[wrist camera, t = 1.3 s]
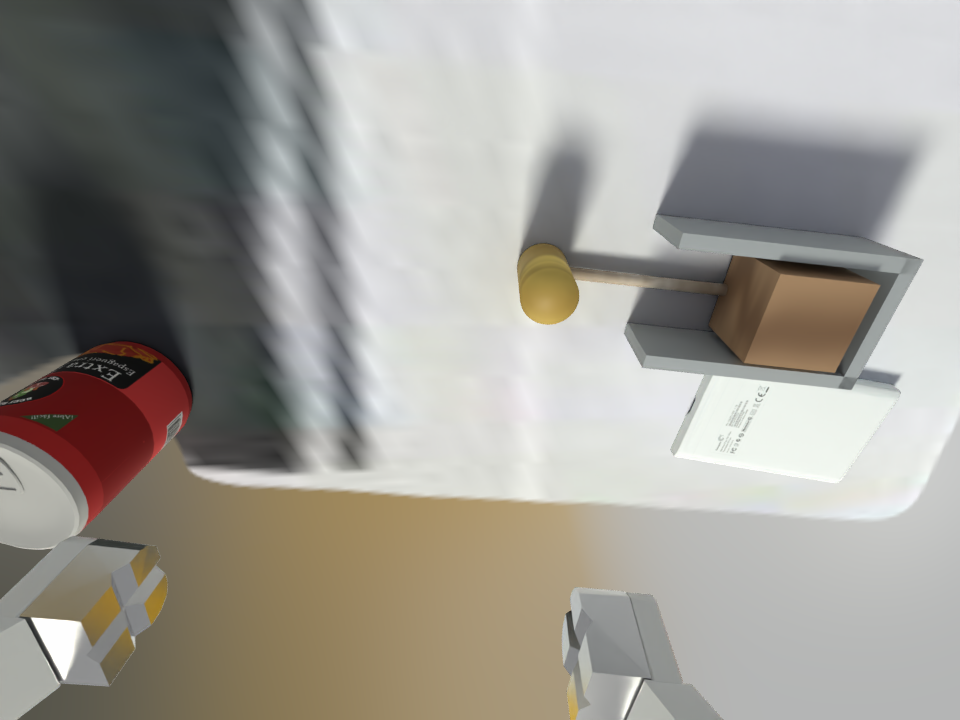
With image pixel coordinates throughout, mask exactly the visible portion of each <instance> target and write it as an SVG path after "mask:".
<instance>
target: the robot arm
mask: <svg viewBox="0 0 960 720" xmlns="http://www.w3.org/2000/svg"><path fill="white" fill-rule="evenodd" d="M160 558H161V557H160V554H159V552H158V549H157V546H153V545H145V544H136V543H129V542H120V541H113V540H104V539H97V538H88V537H78V536H71V537H69V538H67V539H65V540H63V541H61V542H60V543H59V544H58V545H57V546H56V547H55V548H54V549H53V550H52V551H51V552H49V553H48V554H47V555H46V556H45V557H44V558H43V559H42V560H41V561H40V562H39V563H38V564H37V565H36V566H35V567H34V568H33V569H32V570H31V571H30V572H29V573H28V574H27V575H26V576H25V577H24V578H23V579H21V580H20V582H18V584H16V585H15V586H14V587H13V588H12V589H11V590H10V591H9V592H8V593H7V594H6V595H5V596H4V597H3V598H2V599H1V600H0V720H17V719H18V718H19V717H21V716H22V715H23V714H25V713H26V712H27V711H29V710H30V709H31V708H32V707H34V706H35V705H36V704H38V703H39V702H40V701H41V700H43V699H44V698H46V697H47V696H48V695H49V694H51V693H52V692H53V691H55V690H56V689H57V688H59V687H60V684H59V683H67V684H82V685H98V686H110V684H111V683H112V682H113V681H114V679H115V678H116V676H117V675H118V673H119V672H120V670H121V669H122V667H123V666H124V664H125V663H126V661H127V660H128V659H129V657H130V656H131V654H132V653H133V651H134V650H135V636H136V635H138V634H139V633H141V632H142V631H144V630H145V629H146V628H148V627H150V626H151V625H152V623H153V622H154V620H155V619H156V617H157V616H158V614H159V613H160V611H161V609H162V606H163V604H164V601H165V598H166V596H167V588H168V581H167V578H166V574H165V573H164V572H163V571H162V570H161V569H159V568H158V567H157V566H156V564H157V562H158V561H159V559H160ZM570 603H571V611H569V612H568V613H566V615H565V619H564V623H563V631H562V654H563V664H564V667H565V669H566V670H567V671H568V673H569V674H570V675H571V679H570V682H569V685H568V689H567V699H568V707H569V715H570V720H723V719H722V718H721V717H720V715H719V714H718V713H717V712H716V711H715V710H714V709H713V708H712V707H711V706H710V704H709V703H708V702H707V701H706V700H705V699H704V698H703V697H702V695H701V694H700V693H699V692H698V691H697V690H696V689H695V687H694V686H693V685H691V684H685V683H683V680H682V677H681V674H680V671H679V668H678V665H677V662H676V659H675V656H674V653H673V650H672V647H671V644H670V641H669V638H668V635H667V632H666V629H665V626H664V623H663V619H662V617H661V613H660V611H659V607H658V604H657V601H656V600H655V598H654V597H653V596H652V595H649V594H639V593H628V592H624V591H614V590H602V589H591V588H579V587H575V588H574V590H573V591H572V594H571V597H570Z"/></svg>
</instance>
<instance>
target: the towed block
mask: <svg viewBox="0 0 960 720" xmlns="http://www.w3.org/2000/svg"><path fill="white" fill-rule="evenodd" d="M517 273H518V283H519V293H520V302H521V306H522V309H523V311H524V312H525V314H526V315H527V316H528V317H529V318H530V319H532V320H533V321H535V322H537V323H541V324H556V323H559V322H561V321H563V320H565V319H567V318H568V317H569V316H570V315H571V314H572V313H573V312H574V310H575V309H576V307H577V304H578V301H579V290H578V286H577V284H576V282H575V280H582V281H592V282H601V283H610V284H619V285H628V286H637V287H646V288H655V289H665V290H674V291H683V292H692V293H701V294H710V295H719V297H718V300H717V302H716V305H715V308H714V311H713V314H712V316H711V319H710V322H709V327H710V328H711V329H712V330H713V331H714V332H715V333H716V334H717V335H718V336H719V337H720V338H721V339H722V340H723V341H724V343H725V344H726V345H727V346H728V347H729V348H730V349H731V350H732V351H733V352H734V353H735V354H736V355H737V356H738V357H739V358H740V360H741V361H742V362H743V363H748V364H758V365H767V366H776V367H785V368H795V369H804V370H813V371H823V372H832V373H835V371H836V370H837V368H838V366H839V364H840V362H841V360H842V358H843V356H844V354H845V352H846V350H847V349H848V347H849V345H850V343H851V341H852V339H853V337H854V335H855V333H856V331H857V329H858V328H859V326H860V324H861V322H862V320H863V318H864V316H865V314H866V312H867V310H868V308H869V307H870V305H871V303H872V301H873V299H874V297H875V295H876V293H877V291H878V289H879V287H880V286H881V285H879V284H877V283H875V282H873V281H871V280H869V279H867V278H865V277H862V276H860V275H858V274H856V273H854V272H852V271H850V270H848V269H846V268H844V267H835V266H826V265H817V264H808V263H799V262H790V261H781V260H772V259H763V258H754V257H745V256H736V255H733V258H732V261H731V263H730V266H729V269H728V272H727V275H726V277H725V280H724V283H723V284H719V283H710V282H701V281H692V280H683V279H673V278H664V277H655V276H646V275H637V274H628V273H619V272H610V271H601V270H592V269H583V268H573V267H569V265H568V263H567V260H566V258H565V256H564V254H563V253H562V251H561V250H560V249H558V248H557V247H556V246H553V245H551V244H546V243H541V244H536V245H533V246H531V247H529V248H528V249H527V250H525V251H524V252H523V254H522V255H521V257H520V259H519V261H518V265H517Z"/></svg>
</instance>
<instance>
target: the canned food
mask: <svg viewBox="0 0 960 720" xmlns="http://www.w3.org/2000/svg"><path fill="white" fill-rule="evenodd" d="M191 407H192V394H191V391H190V388H189V385H188V383H187V381H186V379H185V377H184V376H183V374H182V373H181V372H180V370H179V369H178V368H177V367H176V366H175V365H174V364H173V363H172V362H171V361H170V360H169V359H168V358H166V357H165V356H164V355H162V354H161V353H159V352H157V351H155V350H154V349H152V348H150V347H147V346H144V345H142V344H138V343H134V342H124V341H119V342H113V343H108V344H103V345H99V346H96V347H94V348H92V349H90V350H88V351H86V352H85V353H83V354H81V355H80V356H78V357H76V358H75V359H73V360H71V361H69V362H68V363H66V364H64V365H63V366H61V367H59V368H58V369H56V370H54V371H52V372H51V373H49V374H47V375H46V376H44V377H42V378H41V379H39V380H37V381H35V382H34V383H32V384H30V385H29V386H27V387H25V388H24V389H22V390H20V391H19V392H17V393H15V394H13V395H12V396H10V397H8V398H7V399H5V400H3V401H1V402H0V542H1V543H4V544H7V545H11V546H14V547H20V548H25V549H37V550H38V549H39V550H42V549H51V548H55V547H56V546H57V545H58V544H59V543H60V542H61V541H63V540H65V539H67V538H69V537H71V536H75V535H77V534H78V533H80V532H81V531H82V530H83V529H84V528H85V527H86V526H87V525H88V524H89V523H90V522H91V521H92V520H93V519H94V518H95V517H96V516H97V515H98V514H99V513H100V512H101V511H102V510H103V509H104V508H105V507H106V506H107V505H108V504H109V503H110V502H111V501H112V500H113V499H114V498H115V497H116V496H117V495H118V494H119V492H120V491H121V490H122V489H123V488H124V487H125V486H126V485H127V484H128V483H129V482H130V481H131V480H132V479H133V478H134V477H135V476H136V475H137V474H138V473H139V472H140V471H141V470H142V469H143V468H144V467H145V466H146V465H147V464H148V463H149V461H151V460H152V458H154V456H155V455H156V454H157V453H158V452H159V451H160V450H161V449H162V448H163V447H164V446H165V445H166V444H167V443H168V442H169V441H170V440H171V439H172V438H173V437H174V436H175V435H176V434H177V433H178V432H179V431H180V430H181V429H182V427H183V426H184V425H185V423H186V421H187V418H188V416H189V414H190V411H191Z"/></svg>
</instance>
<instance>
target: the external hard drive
mask: <svg viewBox="0 0 960 720" xmlns="http://www.w3.org/2000/svg"><path fill="white" fill-rule="evenodd" d="M900 394H901V392H900V390H899V389H897V388H896V387H894V386H893V385H892V384H887V383H881V382H875V381H870V380H864V379H857V381H856V383H855V385H854V387H853V388H852V390H845V389H836V388H826V387H817V386H808V385H798V384H789V383H780V382H771V381H761V380H752V379H743V378H733V377H724V376H715V375H704V377H703V379H702V382H701V384H700V386H699V388H698V390H697V393H696V395H695V397H696V400H695V402H694V404H693V406H692V409H691V411H690V412H689V413H687V414H686V417H685V419H684V421H683V423H682V425H681V427H680V430H679V432H678V434H677V436H676V438H675V440H674V443H673V445H672V447H671V449H670V450H671V452H672V454H673V456H674V457H679V458H686V459H692V460H698V461H704V462H710V463H715V464H721V465H727V466H734V467H740V468H746V469H752V470H758V471H764V472H770V473H776V474H782V475H788V476H794V477H801V478H807V479H813V480H819V481H826V482H832V483H838V482H840V481H841V480H842V479H843V477H844V476H845V474H846V473H847V472H848V470H849V469H850V467H851V466H852V464H853V463H854V462H855V460H856V459H857V457H858V456H859V454H860V453H861V451H862V450H863V449H864V447H865V446H866V445H867V443H868V442H869V440H870V439H871V437H872V436H873V435H874V433H875V432H876V430H877V429H878V427H879V426H880V425H881V423H882V422H883V420H884V419H885V417H886V416H887V415H888V413H889V412H890V410H891V409H892V407H893V406H894V405H895V403H896V402H897V400H898V398H899V396H900Z"/></svg>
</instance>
